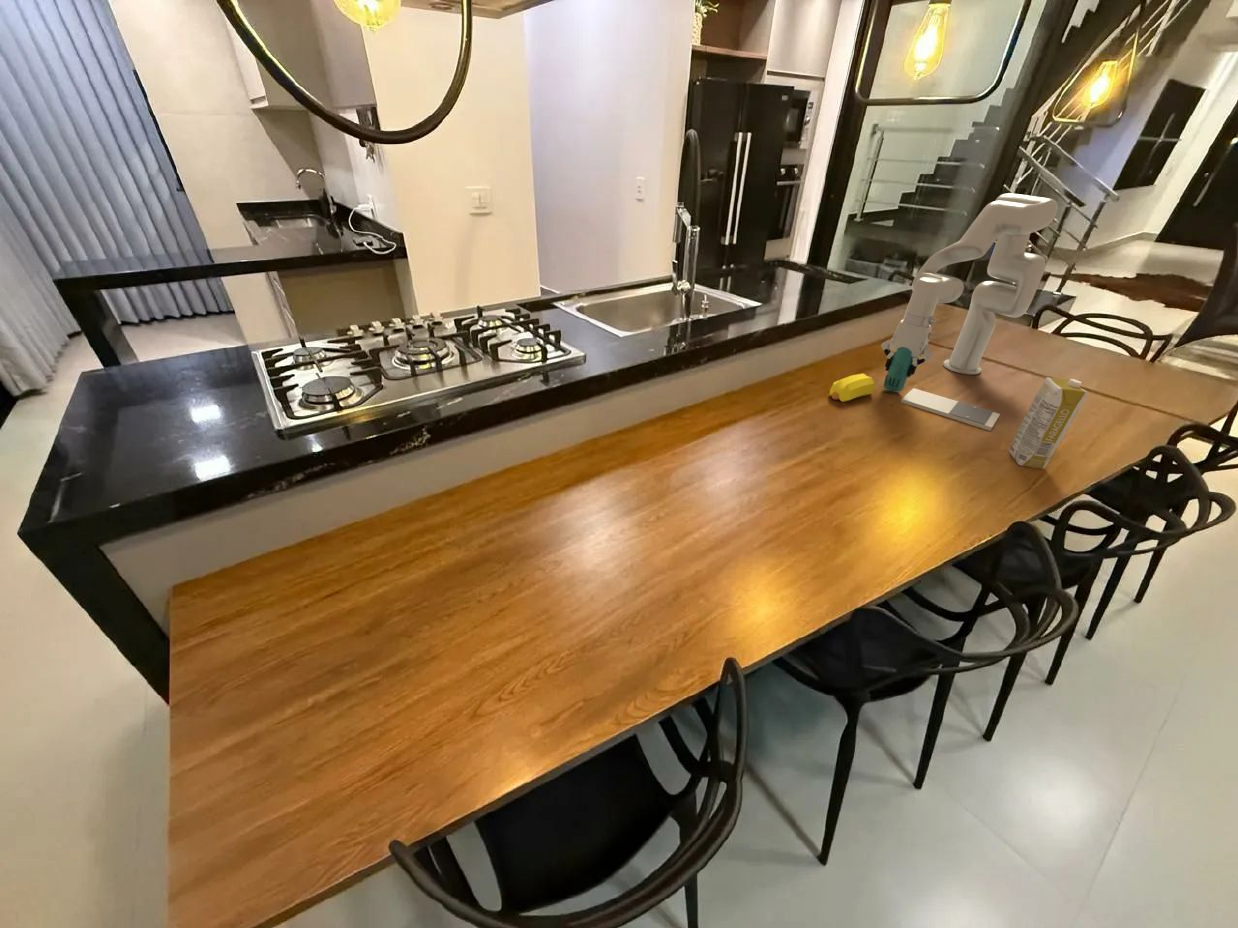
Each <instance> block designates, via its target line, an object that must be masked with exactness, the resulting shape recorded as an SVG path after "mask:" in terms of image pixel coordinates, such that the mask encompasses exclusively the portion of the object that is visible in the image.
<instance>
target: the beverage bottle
mask: <svg viewBox="0 0 1238 928" xmlns="http://www.w3.org/2000/svg"><path fill="white" fill-rule="evenodd" d="M911 354H912V352H911V350H909V349H908V348H905V347H900V348H897V351H896V352H895V353H894V355H893V357H892V361H891V364H890V366H889V369H888V371H887V373H886V375H885V378H884V381H883V388H884V389H886V390H887V391H891V392H897V393H898V392H902V391H903V390H904V388H905V385H906V381H907V379H908V378H909V377H908V376H907V375H908V372H909V369H910V367H911V365H912V364H913V358H912V356H911Z"/></svg>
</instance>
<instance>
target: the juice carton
mask: <svg viewBox="0 0 1238 928" xmlns="http://www.w3.org/2000/svg"><path fill="white" fill-rule="evenodd" d="M1081 385H1082V381H1080V380H1078V379H1074V378H1070V379H1067V378H1061V377H1060V378H1059V377H1050V376H1049V377H1046V378H1045V379H1044V381H1043V382H1042V384H1041V386H1040V387H1039V389H1038V391H1037V393H1036V395H1035V396H1034V399H1033V400H1032V403H1030V404H1031V405H1030V406H1029V408H1028V410H1027V412H1026V413H1025V416H1024V418H1023V420H1022V421H1021V424H1020V426H1019V428H1018V430H1017V432H1015V433H1016V434H1015V436H1014V438H1013V439H1012V441H1011V443H1010V446H1009V448H1008V452H1009V454H1010V456H1012V457H1013V459H1014V460H1015V462H1016V463H1017V465H1019V466H1021V467H1025V468H1026V467H1028V468H1033V469H1045V468H1046V467H1047V466H1048V463H1049V462H1050V461H1051V460H1052V458H1053V456H1054V454H1055V453H1056V450H1058V448H1059V446H1060V443H1061V442H1062V440H1063V439H1064V437H1065V435H1066V433H1067V432H1068V431H1069V428H1070V427H1071V425H1072V422H1073V421H1074V419H1075V417H1076V416H1077V414H1078V413H1079V411H1080V409H1081V407H1082V405H1083V403H1084V402H1085V400H1086V398H1087V395H1088V394H1089V393H1088V391H1087V390H1085V389H1083V388H1081V387H1080V386H1081Z"/></svg>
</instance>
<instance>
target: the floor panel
mask: <svg viewBox="0 0 1238 928" xmlns="http://www.w3.org/2000/svg"><path fill="white" fill-rule="evenodd" d="M900 403H902V404H905V405H908V406H911V407H914V408H917V409H920V410H923V411H927V412H930V413H934V414H936V415H938V416H943V417H946V418H948V419H953V420H955V421H958V422H962V423H964V424H968V425H971V426H974V427H977V428H981V429H984V430H986V431H991V430H992V429H993V427H994V426H995V424H996V423H997V421H998V419H999V418H1000V415H1001V414H1000V413H998V412H994V410H990V409H986V408H982V407H980V406H976V405H973V404H970V403H966V402H963V401H959V400H954V399H951V398H948V397H944V396H941V395H938V394H935V393H931V392H928V391H924V390H921V389H918V388H916V387H914V388H912V389H911V390H910V391H909V392H908V393H906V395H904V397H902V399H901V401H900Z"/></svg>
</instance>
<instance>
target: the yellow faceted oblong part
mask: <svg viewBox="0 0 1238 928" xmlns="http://www.w3.org/2000/svg"><path fill="white" fill-rule="evenodd" d="M830 387H831V388H830V390H829V396H830V397H831V398H832V399H833V400H835V401H836V400H837V401H838V400H839V401H840V402H842V403H847V402H848V401H852V400H854V399H856V398H861V397H865V396H869V395H871V394H873V393H874V392H875V391H874V390H875V381H874V379H873V377H871V376H868V375H866V374H865V373H858V374H852V375H849V376H846V377H844V378H841V379H838V380H836V381H834V382H833V383H832V386H830Z"/></svg>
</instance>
